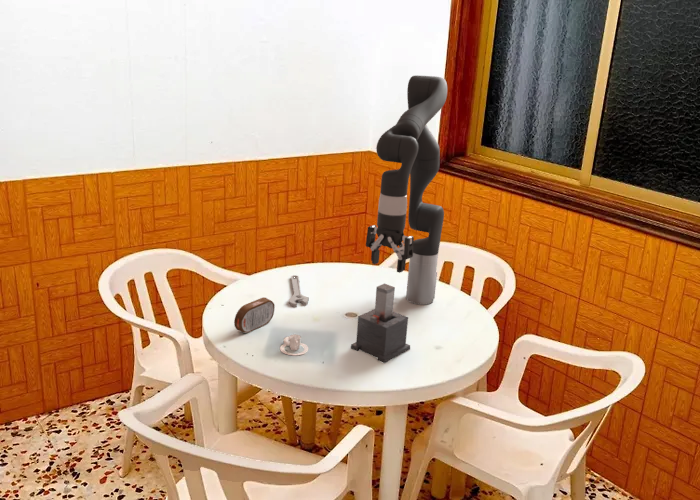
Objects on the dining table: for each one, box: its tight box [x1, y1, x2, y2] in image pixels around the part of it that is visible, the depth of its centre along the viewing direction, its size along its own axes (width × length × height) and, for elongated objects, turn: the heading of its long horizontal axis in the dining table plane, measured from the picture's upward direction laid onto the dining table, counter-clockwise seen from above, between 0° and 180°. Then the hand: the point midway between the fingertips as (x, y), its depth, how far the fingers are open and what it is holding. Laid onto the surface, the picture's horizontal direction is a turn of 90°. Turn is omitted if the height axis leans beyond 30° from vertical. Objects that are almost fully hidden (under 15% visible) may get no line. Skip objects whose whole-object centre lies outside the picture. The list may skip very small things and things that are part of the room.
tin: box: [233, 297, 276, 334], centre depth 197 cm, size 15×3×8 cm, turn 144°
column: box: [374, 283, 396, 322], centre depth 188 cm, size 4×4×19 cm
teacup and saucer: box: [279, 334, 309, 356], centre depth 188 cm, size 9×8×4 cm
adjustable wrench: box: [288, 274, 310, 308], centre depth 226 cm, size 25×6×2 cm, turn 3°
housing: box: [350, 308, 411, 364], centre depth 189 cm, size 12×12×11 cm
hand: (387, 267), depth 183 cm, fingers open, 8 cm apart
